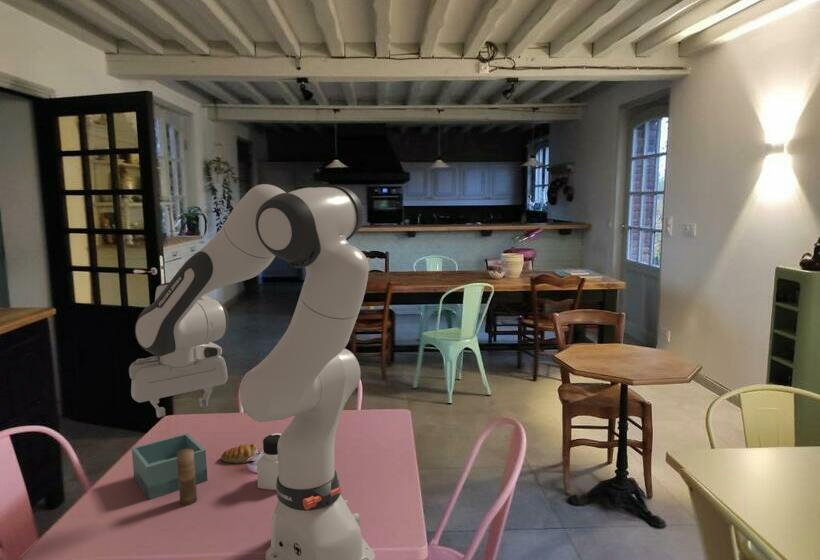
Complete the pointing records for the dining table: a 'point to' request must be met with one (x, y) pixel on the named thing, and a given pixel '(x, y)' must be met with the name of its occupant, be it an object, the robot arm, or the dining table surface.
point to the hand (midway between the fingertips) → (183, 411)
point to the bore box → (165, 464)
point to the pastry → (239, 453)
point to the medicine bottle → (268, 463)
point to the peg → (186, 476)
